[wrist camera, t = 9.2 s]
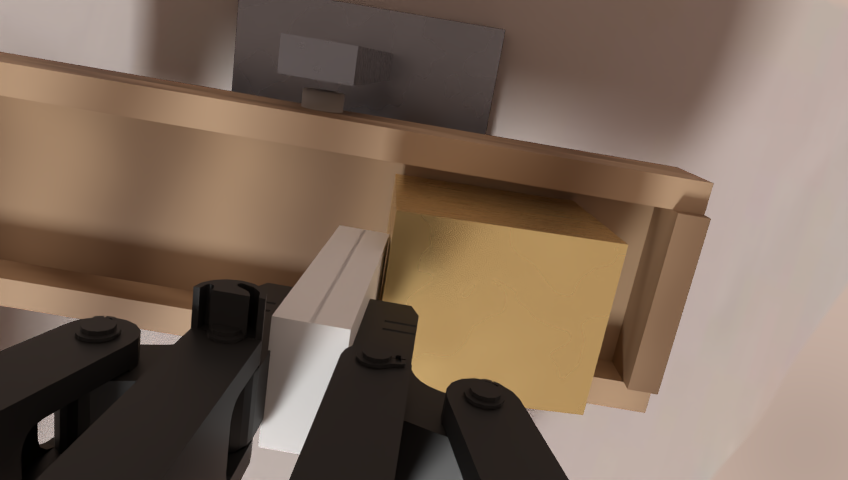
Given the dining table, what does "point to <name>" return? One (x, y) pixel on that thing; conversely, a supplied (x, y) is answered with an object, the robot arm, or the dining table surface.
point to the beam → (287, 201)
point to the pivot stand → (369, 60)
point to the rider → (502, 288)
